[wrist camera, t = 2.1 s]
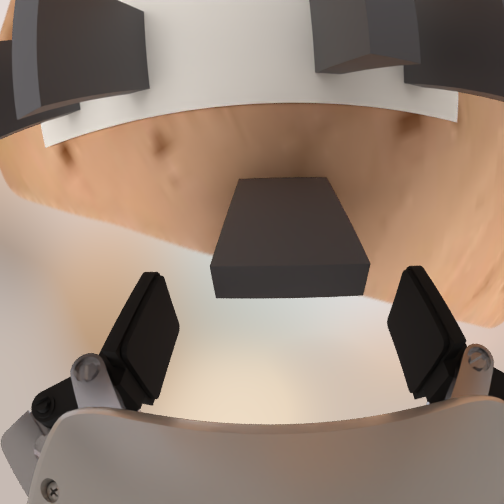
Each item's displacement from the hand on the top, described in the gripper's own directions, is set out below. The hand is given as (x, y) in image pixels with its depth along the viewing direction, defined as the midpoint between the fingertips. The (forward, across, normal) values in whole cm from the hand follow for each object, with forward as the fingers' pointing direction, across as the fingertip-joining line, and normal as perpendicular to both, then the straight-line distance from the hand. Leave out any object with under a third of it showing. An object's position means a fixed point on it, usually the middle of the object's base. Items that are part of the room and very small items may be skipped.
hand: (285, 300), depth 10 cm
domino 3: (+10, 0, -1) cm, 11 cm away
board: (+10, +3, -12) cm, 16 cm away
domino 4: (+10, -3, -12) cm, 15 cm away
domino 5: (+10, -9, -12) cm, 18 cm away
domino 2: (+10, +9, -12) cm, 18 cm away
